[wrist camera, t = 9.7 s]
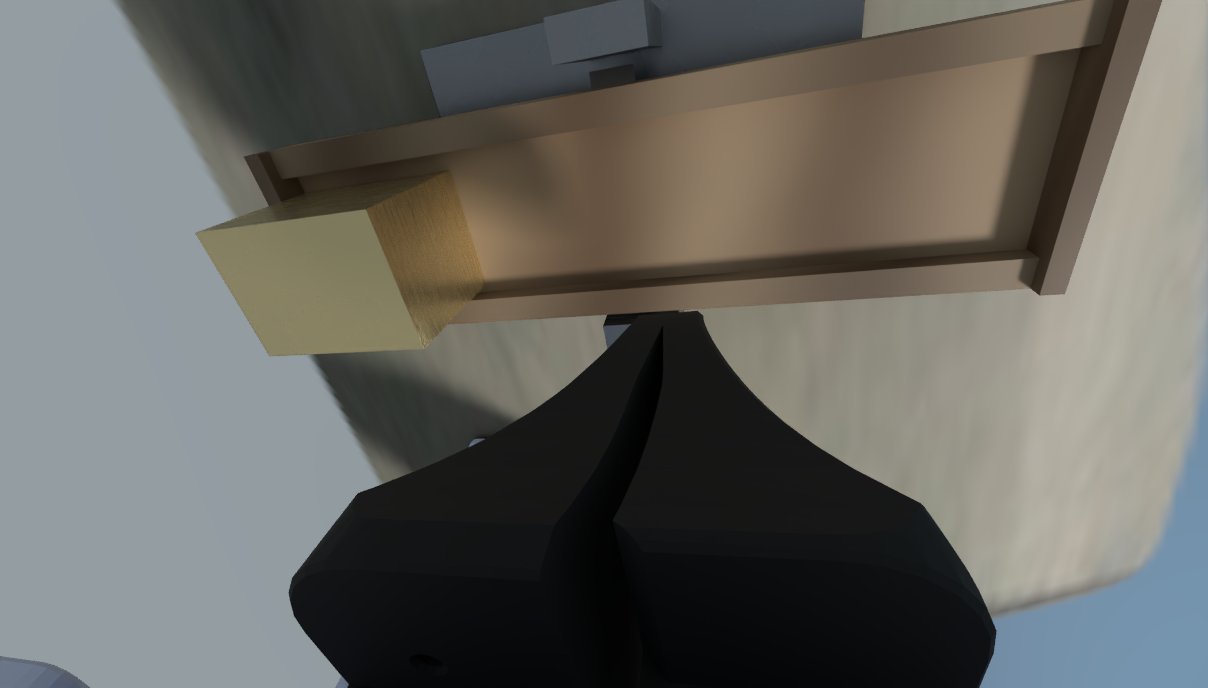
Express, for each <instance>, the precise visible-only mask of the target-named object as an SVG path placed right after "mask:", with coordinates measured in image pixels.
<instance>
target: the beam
mask: <svg viewBox="0 0 1208 688" xmlns="http://www.w3.org/2000/svg"><path fill="white" fill-rule="evenodd" d="M1161 2H1162V0H1065V1H1059V2H1054V3H1049V4H1043V5H1038V6H1033V7H1027V8H1022V9H1017V10H1011V11H1006V12H1001V13H995V14H990V15H985V16H979V17H974V18H969V19H963V20H958V21H952V22H947V23H942V24H936V25H931V26H926V27H920V28H915V29H910V30H904V31H899V32H894V33H888V34H883V35H878V36H872V37H867V38H862V39H856V40H851V41H846V42H840V43H835V44H830V45H824V46H819V47H814V48H808V49H803V50H798V51H792V52H787V53H782V54H776V55H771V56H765V57H760V58H755V59H749V60H744V61H739V62H733V63H728V64H723V65H717V66H712V67H707V68H701V69H696V70H691V71H685V72H680V73H675V74H669V75H664V76H659V77H653V78H648V79H643V80H637V81H635V77H634V69H633V64H628V65H622V66H617V67H612V68H607V69H602V70H597V71H592V72H589V76H590V82H591V88H592V89H589V90H584V91H579V92H573V93H568V94H562V95H557V96H552V97H546V98H541V99H536V100H530V101H525V102H520V103H514V104H509V105H504V106H498V107H493V108H488V109H482V110H477V111H472V112H466V113H461V114H456V115H450V116H445V117H440V118H434V119H429V120H424V121H418V122H413V123H408V124H402V125H397V126H392V127H386V128H381V129H376V130H370V131H365V132H359V133H354V134H349V135H343V136H338V137H333V138H327V139H322V140H317V141H311V142H306V143H301V144H295V145H291V146H287V147H283V148H278V149H274V150H270V151H266V152H261V153H257V154H253V155H249V156H244V158H245V160H246V162H247V164H248V166H249V168H250V170H251V172H252V174H253V176H254V177H255V179H256V181H257V183H258V185H259V187H260V189H261V191H262V193H263V195H264V197H265V199H266V201H267V203H268V205H269V206H271V205H274V204H277V203H279V202H282V201H285V200H288V199H291V198H293V197H296V196H299V195H302V194H304V193H307V192H310V191H317V190H323V189H330V188H336V187H343V186H349V185H356V184H362V183H368V182H375V181H381V180H388V179H394V178H401V177H407V176H414V175H420V174H427V173H433V172H440V171H446V170H450V171H451V174H452V177H453V180H454V183H455V187H456V190H457V193H458V196H459V199H460V202H461V206H462V209H463V212H464V215H465V218H466V221H467V225H468V228H469V231H470V234H471V237H472V240H473V244H474V247H475V250H476V253H477V256H478V259H479V263H480V266H481V269H482V272H483V275H484V278H485V282H486V285H485V286H484V287H483V288H482V289H481V290H480V291H479V292H478V293H477V294H476V295H475V296H474V297H473V298H472V300H471V301H470V302H469V303H468V304H467V305H466V306H465V307H464V308H463V309H462V310H461V311H460V312H459V313H458V314H457V315H456V316H455V317H454V318H453V319H452V320H451V321H450V322H449V323H448V324H462V323H478V322H494V321H511V320H527V319H543V318H559V317H576V316H592V315H608V314H624V313H641V312H657V311H673V310H689V309H705V308H722V307H738V306H754V305H770V304H787V303H803V302H819V301H835V300H852V299H868V298H884V297H900V296H916V295H933V294H949V293H965V292H981V291H998V290H1014V289H1030V288H1031V289H1032V290H1033V291H1035V292H1036V293H1037V294H1038V295H1057V294H1065V292H1066V289H1067V286H1068V283H1069V280H1070V277H1071V274H1072V271H1073V268H1074V265H1075V262H1076V259H1077V256H1078V253H1079V250H1080V247H1081V244H1082V241H1083V238H1084V235H1085V232H1086V229H1087V226H1088V223H1089V220H1090V217H1091V214H1092V211H1093V208H1094V205H1095V202H1096V199H1097V195H1098V192H1099V189H1100V186H1101V183H1102V180H1103V177H1104V174H1105V171H1106V168H1107V165H1108V162H1109V159H1110V156H1111V153H1112V150H1113V147H1114V144H1115V141H1116V138H1117V135H1118V132H1119V129H1120V126H1121V123H1122V120H1123V117H1124V114H1125V111H1126V108H1127V105H1128V102H1129V99H1130V96H1131V93H1132V90H1133V87H1134V84H1135V81H1136V78H1137V75H1138V72H1139V69H1140V66H1141V63H1142V60H1143V57H1144V54H1145V51H1146V47H1147V44H1148V41H1149V38H1150V35H1151V32H1152V29H1153V26H1154V23H1155V20H1156V17H1157V14H1158V11H1159V8H1160V5H1161Z"/></svg>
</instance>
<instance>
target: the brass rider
mask: <svg viewBox="0 0 1208 688" xmlns="http://www.w3.org/2000/svg"><path fill="white" fill-rule="evenodd" d="M195 234H196V235H197V237H198V239H199V240H200V242H201V243H202V245H203V247H204V248H205V250H206V252H207V253H208V255H209V257H210V258H211V260H212V262H213V263H214V265H215V266H216V268H217V270H218V272H219V273H220V275H221V276H222V278H223V280H224V281H225V283H226V285H227V286H228V288H229V290H230V291H231V293H232V295H233V296H234V298H235V300H236V301H237V303H238V305H239V306H240V308H241V310H242V311H243V313H244V315H245V316H246V318H247V319H248V321H249V323H250V324H251V326H252V328H253V329H254V331H255V333H256V334H257V336H258V338H259V339H260V341H261V343H262V344H263V346H264V348H265V349H266V351H267V353H268V354H269V356H284V355H306V354H328V353H349V352H370V351H391V350H412V349H424V348H425V347H426V346H427V345H428V344H429V343H430V342H431V341H432V340H433V339H434V338H435V337H436V336H437V335H438V334H439V333H440V332H441V331H442V329H443V328H444V327H445V326H446V325H447V324H448V323H449V322H450V321H451V320H452V319H453V318H454V317H455V316H456V315H457V314H458V313H459V312H460V311H461V310H462V309H463V308H464V307H465V306H466V305H467V304H468V303H469V302H470V301H471V300H472V298H473V297H474V296H475V295H476V294H477V293H478V292H479V291H480V290H481V289H482V288H483V287H484V286H485V285H486V282H485V278H484V275H483V272H482V269H481V266H480V263H479V259H478V256H477V253H476V250H475V247H474V244H473V240H472V237H471V234H470V231H469V228H468V225H467V221H466V218H465V215H464V212H463V209H462V206H461V202H460V199H459V196H458V193H457V190H456V187H455V183H454V180H453V177H452V174H451V171H450V170H446V171H440V172H433V173H427V174H420V175H414V176H407V177H401V178H394V179H388V180H381V181H375V182H368V183H362V184H356V185H349V186H343V187H336V188H330V189H323V190H317V191H310V192H307V193H304V194H302V195H299V196H296V197H293V198H291V199H288V200H285V201H282V202H279V203H277V204H274V205H271V206H268V207H266V208H263V209H260V210H257V211H254V212H252V213H249V214H246V215H243V216H241V217H238V218H235V219H232V220H230V221H227V222H224V223H221V224H219V225H216V226H213V227H210V228H207V229H205V230H202V231H199V232H196V233H195Z"/></svg>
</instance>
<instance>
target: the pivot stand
mask: <svg viewBox="0 0 1208 688" xmlns="http://www.w3.org/2000/svg"><path fill="white" fill-rule="evenodd" d="M864 2H865V0H617V1H613V2H608V3H604V4H600V5H595V6H591V7H587V8H582V9H578V10H574V11H569V12H565V13H561V14H556V15H552V16H548V17H543V20H544V22H543V23H539V24H535V25H530V26H526V27H522V28H517V29H513V30H508V31H504V32H500V33H495V34H491V35H486V36H482V37H478V38H473V39H469V40H464V41H460V42H456V43H451V44H447V45H442V46H438V47H434V48H429V49H425V50H420V53H421V56H422V59H423V63H424V66H425V69H426V72H427V76H428V79H429V82H430V85H431V89H432V92H433V95H434V98H435V101H436V105H437V108H438V111H439V114H440V117H445V116H450V115H456V114H461V113H466V112H472V111H477V110H482V109H488V108H493V107H498V106H504V105H509V104H514V103H520V102H525V101H530V100H536V99H541V98H546V97H552V96H557V95H562V94H568V93H573V92H579V91H584V90H589V89H592V88H591V82H590V76H589V72H592V71H597V70H602V69H607V68H612V67H617V66H622V65H628V64H633V69H634V77H635V81H637V80H643V79H648V78H653V77H659V76H664V75H669V74H675V73H680V72H685V71H691V70H696V69H701V68H707V67H712V66H717V65H723V64H728V63H733V62H739V61H744V60H749V59H755V58H760V57H765V56H771V55H776V54H782V53H787V52H792V51H798V50H803V49H808V48H814V47H819V46H824V45H830V44H835V43H840V42H846V41H851V40H856V39H862V27H863V14H864ZM677 312H684V310H673V311H657V312H641V313H624V314H608V315H607V317H606V320H605V323H604V325H603V328H604V333H605V338H606V343H607V348H609V347H610V346H611V345H612V344H613V343H614V342H615V341H616V340H617V339H618V337H619V336H620V335H621V334H622V333H623V332H624V331H625V330H626V329H627V328H628V327H629V326H630V325H631V324H632V322H633V321H634V320H635V319H636V318H637V317H638V316H639V315H649V314H663V313H677Z"/></svg>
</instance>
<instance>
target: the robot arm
mask: <svg viewBox="0 0 1208 688" xmlns="http://www.w3.org/2000/svg"><path fill="white" fill-rule="evenodd" d="M289 597H290V602H291V606H292V610H293V613H294V616H295V618H296V619H297V621H298V623H299V624H300V626H301V627H302V629H303V630H304V632H305V633H306V634H307V635H308V637H310V639H311V640H312V641H313V642H314V644H315V645H316V646H317V647H318V648H319V650H320V651H321V652H322V653H323V654H324V656H326V658H327V659H328V660H329V661H330V663H331V664H332V665H333V666H334V667H335V669H336V670H337V671H338V672H339V673H340V674H341V675H342V676H341V678H340V680H339V682H338V684H337V685H336V687H335V688H979V687H980V685H981V682H982V680H983V677H984V675H985V673H986V670H987V668H988V666H989V663H990V661H991V658H992V656H993V654H994V646H995V639H996V629H995V626H994V624H993V621H992V619H991V617H990V614H989V612H988V610H987V607H986V605H985V603H984V601H983V598H982V596H981V594H980V592H979V590H978V588H977V586H976V584H975V583H974V581H973V579H972V577H971V575H970V574H969V572H968V570H967V569H966V567H965V565H964V564H963V562H962V561H961V559H960V558H959V556H958V555H957V553H956V552H955V550H954V549H953V547H952V546H951V544H950V543H949V541H948V540H947V539H946V537H945V536H944V534H943V533H942V531H941V530H940V528H939V527H938V526H937V524H936V523H935V521H934V520H933V518H932V517H931V516H930V514H929V513H928V511H927V510H926V509H925V507H924V506H923V505H922V504H921V503H919V502H917V501H915V500H913V499H911V498H909V497H907V496H905V495H903V494H901V493H899V492H898V491H896V490H894V489H892V488H890V487H888V486H886V485H884V484H882V483H880V482H878V481H876V480H874V479H872V478H870V477H868V476H866V475H864V474H863V473H861V472H859V471H857V470H855V469H853V468H851V467H850V466H848V465H846V464H845V463H843V462H841V461H840V460H838V459H837V458H835V457H833V456H832V455H830V454H829V453H827V452H825V451H824V450H822V449H820V448H819V447H817V446H816V445H814V444H813V443H812V442H810V441H809V440H807V439H806V438H805V437H803V436H802V435H801V434H799V433H798V432H797V431H795V430H794V429H793V428H791V427H790V426H789V425H787V424H786V423H785V422H783V421H782V420H781V419H780V418H779V417H778V416H777V415H775V414H774V413H773V412H772V411H771V410H770V409H769V408H767V407H766V406H765V405H764V404H763V403H762V402H761V401H760V400H759V399H758V398H757V397H756V396H755V395H754V394H753V393H752V392H751V391H750V390H749V388H748V387H747V386H746V385H745V384H744V383H743V382H742V381H741V379H740V378H739V377H738V376H737V374H736V373H735V372H734V371H733V370H732V368H731V367H730V366H729V364H728V363H727V362H726V360H725V359H724V357H723V356H722V354H721V353H720V351H719V350H718V348H717V347H716V345H715V344H714V342H713V340H712V338H711V336H710V334H709V333H708V331H707V328H706V326H705V323H704V320H703V315H702V314H700V313H699V312H698V311H691V312H677V313H663V314H649V315H639V316H638V317H637V318H636V319H635V320H634V321H633V322H632V324H631V325H630V326H629V327H628V328H627V329H626V330H625V331H624V332H623V333H622V334H621V335H620V336H619V337H618V339H617V340H616V341H615V342H614V343H613V344H612V345H611V346H610V347H609V348H608V349H607V350H606V351H605V352H604V353H603V354H602V355H601V356H600V357H599V358H598V359H597V360H596V361H594V362H593V363H592V364H591V365H590V366H589V367H588V368H587V369H586V370H584V371H583V372H582V373H581V374H580V375H579V376H578V377H577V378H576V379H574V380H573V381H572V382H571V383H570V384H569V385H567V386H566V387H565V388H564V389H562V390H561V391H560V392H558V393H557V394H556V395H554V396H553V397H552V398H550V399H549V400H547V401H546V402H545V403H543V404H542V405H540V406H539V407H538V408H536V409H535V410H533V411H532V412H530V413H529V414H527V415H525V416H523V417H522V418H520V419H518V420H517V421H515V422H513V423H512V424H510V425H508V426H507V427H505V428H503V429H502V430H500V431H498V432H497V433H495V434H493V435H492V436H490V437H488V438H486V439H474V440H472V442H471V443H470V445H469V447H468V448H466V449H464V450H462V451H460V452H458V453H456V454H454V455H452V456H449V457H447V458H445V459H443V460H441V461H439V462H436V463H434V464H432V465H430V466H427V467H425V468H422V469H420V470H417V471H415V472H412V473H410V474H407V475H405V476H402V477H399V478H397V479H394V480H392V481H389V482H387V483H384V484H382V485H379V486H376V487H374V488H371V489H368V490H366V491H363V492H360V493H358V494H357V495H356V496H355V498H354V499H353V500H352V501H351V503H350V504H349V506H348V507H347V508H346V509H345V511H344V512H343V513H342V514H341V516H340V517H339V518H338V520H337V521H336V522H335V523H334V525H333V526H332V527H331V529H330V530H329V531H328V533H327V534H326V535H325V536H324V538H323V539H322V540H321V541H320V543H319V544H318V545H317V547H316V548H315V549H314V550H313V552H312V553H311V554H310V556H309V557H308V558H307V560H306V561H305V562H304V563H303V565H302V566H301V567H300V569H299V570H298V571H297V573H296V574H295V575H294V576H293V578H292V581H291V585H290V589H289ZM0 688H90V687H89V686H87V685H86V684H85V683H84V682H82V681H81V680H80V679H78V678H77V677H75V676H74V675H72V674H71V673H69V672H67V671H66V670H64V669H61V668H59V667H57V666H55V665H51V664H48V663H44V662H37V661H30V660H23V659H16V658H9V657H2V656H0Z"/></svg>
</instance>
